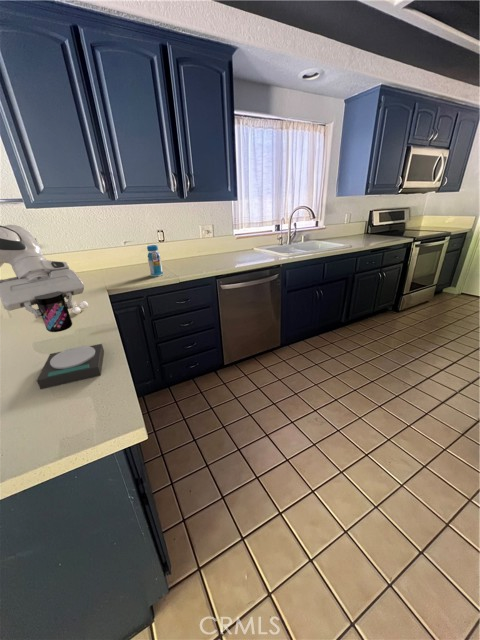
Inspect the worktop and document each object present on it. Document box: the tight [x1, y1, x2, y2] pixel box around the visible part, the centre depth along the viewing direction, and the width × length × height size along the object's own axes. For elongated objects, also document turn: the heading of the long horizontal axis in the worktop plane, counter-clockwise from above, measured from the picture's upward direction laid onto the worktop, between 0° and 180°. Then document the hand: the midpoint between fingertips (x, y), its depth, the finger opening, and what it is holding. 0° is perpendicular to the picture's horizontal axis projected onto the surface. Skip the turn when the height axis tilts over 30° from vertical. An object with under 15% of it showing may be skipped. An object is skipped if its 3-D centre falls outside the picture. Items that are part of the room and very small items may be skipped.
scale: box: [36, 343, 105, 390], centre depth 80 cm, size 15×15×4 cm
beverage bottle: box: [146, 244, 164, 277], centre depth 180 cm, size 8×8×20 cm
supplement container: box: [34, 291, 73, 333], centre depth 77 cm, size 7×7×10 cm
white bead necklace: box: [68, 300, 89, 315], centre depth 123 cm, size 19×14×4 cm
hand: (55, 311), depth 76 cm, fingers closed on supplement container, 6 cm apart
